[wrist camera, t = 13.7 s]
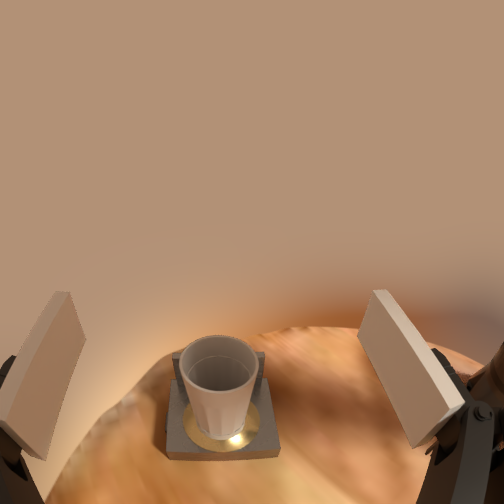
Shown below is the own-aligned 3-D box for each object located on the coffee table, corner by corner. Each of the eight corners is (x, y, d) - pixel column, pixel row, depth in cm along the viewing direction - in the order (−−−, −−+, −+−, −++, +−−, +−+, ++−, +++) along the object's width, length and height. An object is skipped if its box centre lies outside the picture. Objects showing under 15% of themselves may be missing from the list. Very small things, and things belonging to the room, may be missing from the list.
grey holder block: (265, 389, 42) (271, 350, 38) (277, 456, 32) (288, 427, 28) (171, 390, 41) (162, 352, 36) (166, 459, 30) (152, 430, 26)
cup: (181, 435, 31) (167, 381, 25) (200, 390, 38) (194, 328, 32) (244, 451, 30) (250, 401, 24) (256, 402, 37) (264, 342, 31)
